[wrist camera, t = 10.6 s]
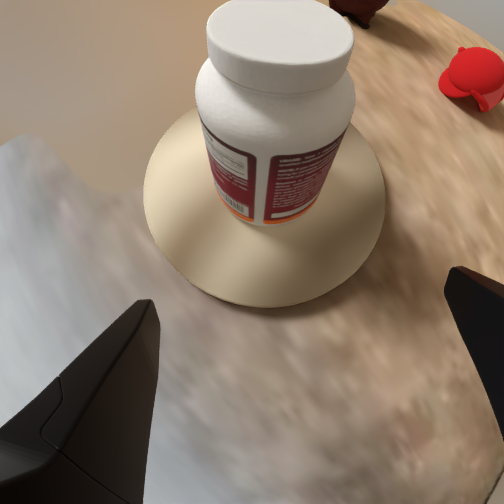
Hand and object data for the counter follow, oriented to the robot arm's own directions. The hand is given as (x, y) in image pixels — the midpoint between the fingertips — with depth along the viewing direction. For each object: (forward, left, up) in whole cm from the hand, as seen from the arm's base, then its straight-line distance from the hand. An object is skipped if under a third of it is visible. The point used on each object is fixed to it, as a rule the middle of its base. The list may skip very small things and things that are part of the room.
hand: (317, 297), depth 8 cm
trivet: (+6, -5, -9) cm, 12 cm away
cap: (-1, -28, -10) cm, 30 cm away
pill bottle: (+6, -5, -8) cm, 11 cm away
